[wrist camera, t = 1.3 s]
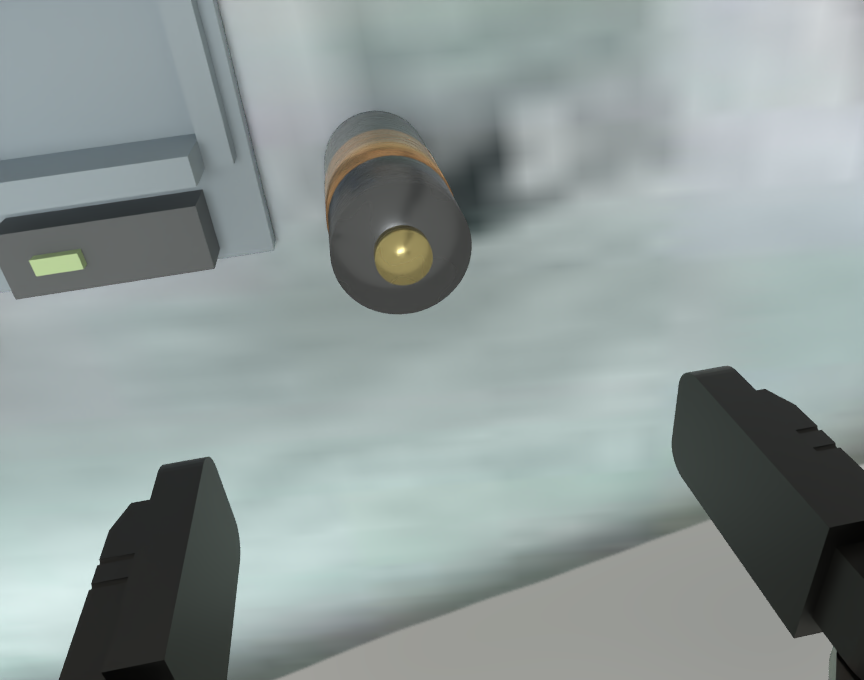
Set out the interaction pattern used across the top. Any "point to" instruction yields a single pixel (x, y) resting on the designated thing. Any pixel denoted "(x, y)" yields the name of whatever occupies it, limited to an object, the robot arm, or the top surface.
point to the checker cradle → (121, 145)
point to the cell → (391, 217)
